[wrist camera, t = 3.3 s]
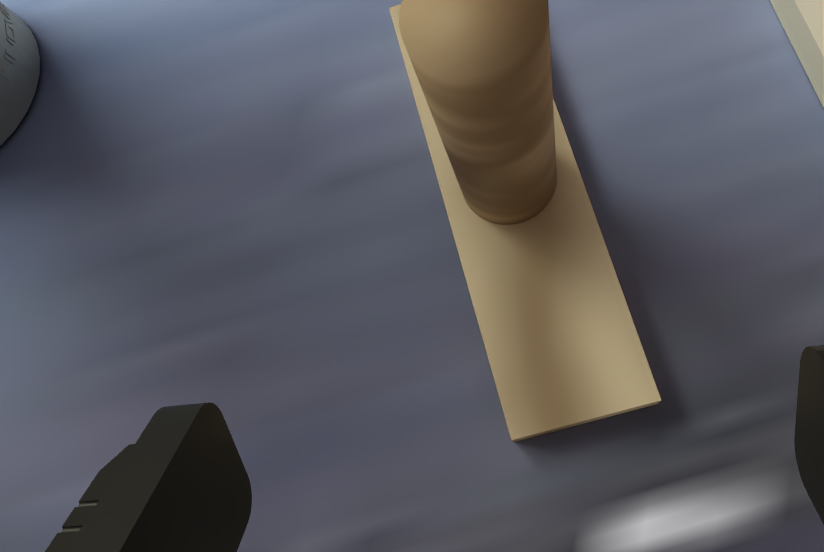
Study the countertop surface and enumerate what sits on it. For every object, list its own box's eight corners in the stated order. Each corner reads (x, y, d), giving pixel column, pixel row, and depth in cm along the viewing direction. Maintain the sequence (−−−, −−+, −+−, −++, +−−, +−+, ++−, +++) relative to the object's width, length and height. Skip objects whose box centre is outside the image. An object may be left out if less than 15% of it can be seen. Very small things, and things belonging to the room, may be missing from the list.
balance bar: (515, 442, 25) (470, 416, 14) (397, 29, 30) (300, -217, 20) (656, 404, 24) (725, 346, 13) (508, -10, 30) (472, -289, 19)
